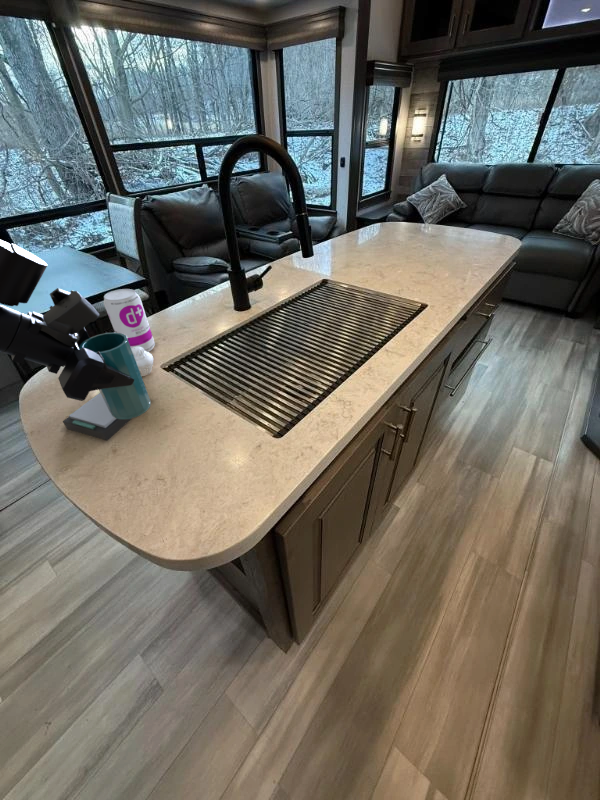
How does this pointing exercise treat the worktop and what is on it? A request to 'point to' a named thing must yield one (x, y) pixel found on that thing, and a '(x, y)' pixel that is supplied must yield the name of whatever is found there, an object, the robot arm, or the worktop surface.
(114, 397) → the cup
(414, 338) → the worktop surface
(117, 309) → the supplement can
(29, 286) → the robot arm
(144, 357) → the white frosted cupcake
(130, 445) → the worktop surface
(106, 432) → the scale
